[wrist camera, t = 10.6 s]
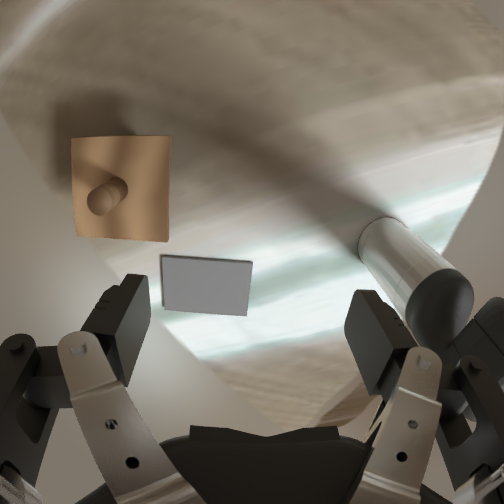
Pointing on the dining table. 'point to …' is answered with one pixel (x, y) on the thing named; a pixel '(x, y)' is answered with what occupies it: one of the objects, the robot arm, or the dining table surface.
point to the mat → (206, 285)
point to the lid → (121, 186)
